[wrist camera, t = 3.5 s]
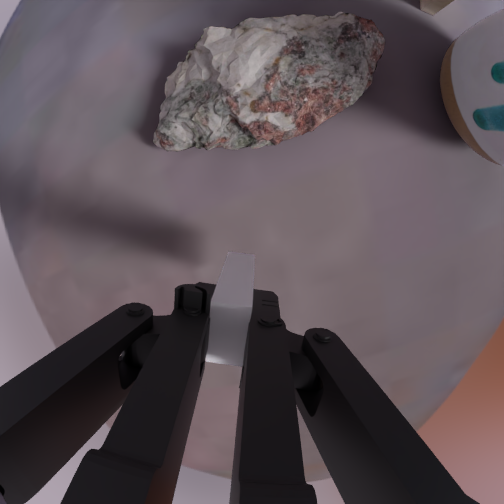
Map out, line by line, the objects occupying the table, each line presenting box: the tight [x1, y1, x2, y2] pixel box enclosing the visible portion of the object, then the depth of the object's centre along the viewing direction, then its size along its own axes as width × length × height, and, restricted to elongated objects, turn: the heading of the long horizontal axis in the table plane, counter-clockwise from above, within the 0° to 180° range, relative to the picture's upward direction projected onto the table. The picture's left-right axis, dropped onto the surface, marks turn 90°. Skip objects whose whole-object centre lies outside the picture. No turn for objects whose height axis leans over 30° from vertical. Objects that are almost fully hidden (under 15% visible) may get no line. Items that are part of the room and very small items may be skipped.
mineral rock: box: [153, 12, 385, 151], centre depth 16 cm, size 15×8×4 cm, turn 99°
